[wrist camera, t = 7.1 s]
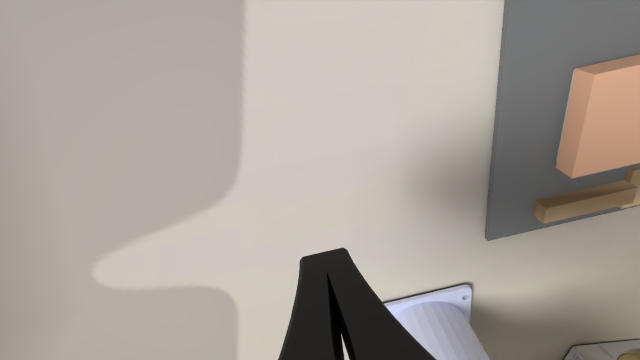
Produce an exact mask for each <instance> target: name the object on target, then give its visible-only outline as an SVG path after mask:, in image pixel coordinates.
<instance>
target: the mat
mask: <svg viewBox="0 0 640 360" xmlns="http://www.w3.org/2000/svg"><path fill="white" fill-rule="evenodd" d="M638 54H640V0H505V4H504V16H503V28H502V40H501V52H500V63H499V75H498V87H497V99H496V111H495V123H494V135H493V147H492V159H491V171H490V183H489V195H488V207H487V219H486V231H485V238H486V239H487V240H488V241H489V240H494V239H498V238H502V237H507V236H511V235H515V234H519V233H524V232H528V231H532V230H537V229H541V228H545V227H549V226H554V225H558V224H562V223H567V222H571V221H575V220H580V219H584V218H588V217H592V216H597V215H601V214H605V213H610V212H614V211H618V210H622V209H621V208H619V207H614V208H609V209H605V210H601V211H596V212H592V213H588V214H583V215H579V216H575V217H571V218H566V219H562V220H558V221H553V222H549V223H545V224H543V223H542V222H541V221H540V220H539V219H537V218H536V217H535V216H534V215H533V213H534V207H535V201H536V200H538V199H542V198H546V197H551V196H555V195H559V194H564V193H568V192H572V191H577V190H581V189H586V188H590V187H594V186H599V185H603V184H607V183H612V182H616V181H620V180H624V179H625V176H626V173H627V170H628V168H629V167H633V166H637V165H640V163H637V164H633V165H628V166H624V167H620V168H615V169H611V170H607V171H602V172H598V173H594V174H589V175H585V176H580V177H576V178H570V177H569V176H567V175H566V174H564V173H563V172H561V171H560V170H558V169H557V168H556V164H557V162H556V160H557V155H558V149H559V144H560V139H561V134H562V128H563V123H564V118H565V113H566V107H567V102H568V97H569V92H570V86H571V81H572V76H573V71H574V70H575V68H579V67H584V66H588V65H593V64H597V63H602V62H606V61H611V60H615V59H620V58H624V57H629V56H634V55H638ZM636 206H640V205H636ZM631 207H635V206H631ZM631 207H627V208H631ZM627 208H623V209H627Z"/></svg>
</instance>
